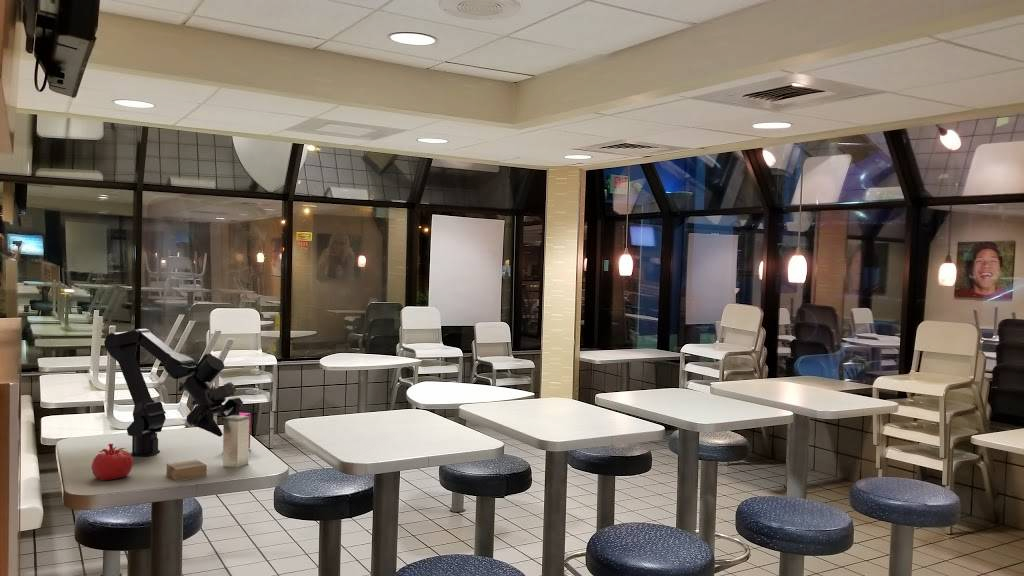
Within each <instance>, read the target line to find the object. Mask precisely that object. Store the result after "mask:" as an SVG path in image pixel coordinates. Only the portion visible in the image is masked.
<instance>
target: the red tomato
mask: <svg viewBox="0 0 1024 576" xmlns="http://www.w3.org/2000/svg"><path fill="white" fill-rule="evenodd" d="M107 445H108V447H109V449H106V448H103V449H101V450H100V451H99V453H98V454H97V455H96V456H95V457H94V458H93V459H92V460H93V461H92V463H91V470H92V475H93V477H95V478H96V479H97V480H100V479H102V480H101V481H113V480H117V479H121V478H124V477H126V476H128V475H129V474H130V472H131V471H132V469H133V467H134V466H133V465H134V458H133V457H134V456H133V455H131V454H130V453H131V452H128V451H126V448H124V447H120V448H118V447H117V446H114V443H108V444H107ZM116 448H118V449H116Z"/></svg>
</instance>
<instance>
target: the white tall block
mask: <svg viewBox="0 0 1024 576" xmlns="http://www.w3.org/2000/svg"><path fill="white" fill-rule="evenodd" d="M249 419H250V416H243V415H232V416H228V417H224V416H223V417H222V421H223V427H222V428H223V429H222V430H223V431H222V434H223V435H222V436H223V438H222V439H223V440H222V442H223V443H222V467H226V466H227V467H226V468H234V467H235V469H238V468H241V467H244V466H246V465H245V464H247V465H249V451H250V450H249V449H250V448H249ZM243 465H244V466H243ZM240 466H241V467H240Z"/></svg>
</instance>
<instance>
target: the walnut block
mask: <svg viewBox="0 0 1024 576" xmlns="http://www.w3.org/2000/svg"><path fill="white" fill-rule="evenodd" d="M207 466H208V465H207V464H206V463H203V462H202V461H200V460H198V459H191V460H190V459H189V460H183V461H177V462H170V463H169V462H168V463H166V476H168V477H169V478H171V479H172V480H174V481H176V482H181V481H186V480H192V479H193V480H194V479H198V478H205V477H207V474H208V473H207V469H208V468H207Z"/></svg>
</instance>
